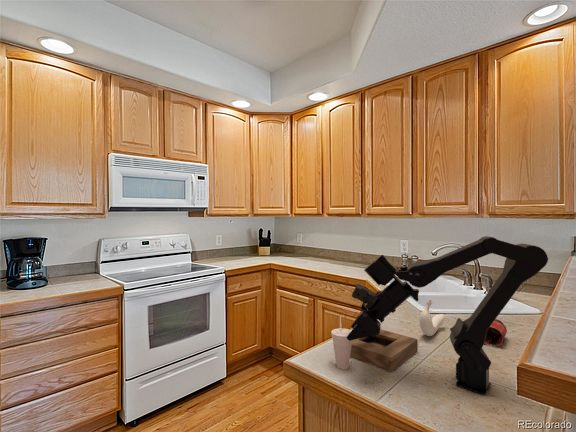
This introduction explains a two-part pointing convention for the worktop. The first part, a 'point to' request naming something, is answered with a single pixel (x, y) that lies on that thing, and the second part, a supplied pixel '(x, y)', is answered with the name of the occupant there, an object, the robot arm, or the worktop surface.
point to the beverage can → (496, 333)
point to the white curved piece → (430, 320)
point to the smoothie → (341, 346)
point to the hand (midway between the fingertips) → (349, 333)
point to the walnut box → (384, 350)
